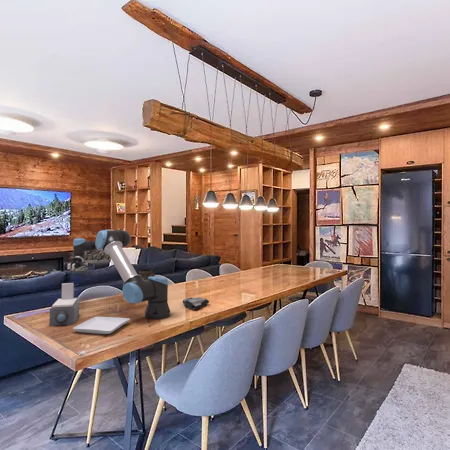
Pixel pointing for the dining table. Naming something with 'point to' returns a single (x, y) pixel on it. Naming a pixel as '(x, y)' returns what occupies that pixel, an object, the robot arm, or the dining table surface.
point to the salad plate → (101, 325)
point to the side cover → (66, 296)
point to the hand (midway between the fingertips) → (70, 267)
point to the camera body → (64, 315)
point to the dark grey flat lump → (195, 302)
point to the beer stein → (146, 273)
